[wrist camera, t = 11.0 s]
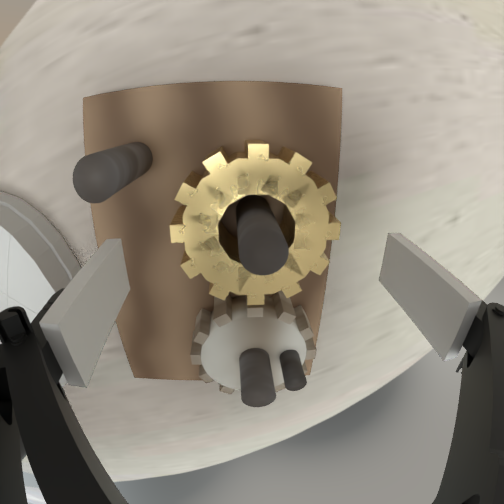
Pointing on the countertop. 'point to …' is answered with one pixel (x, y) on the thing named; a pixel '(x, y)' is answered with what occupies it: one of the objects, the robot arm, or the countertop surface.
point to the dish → (31, 258)
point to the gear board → (234, 219)
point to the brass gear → (226, 245)
